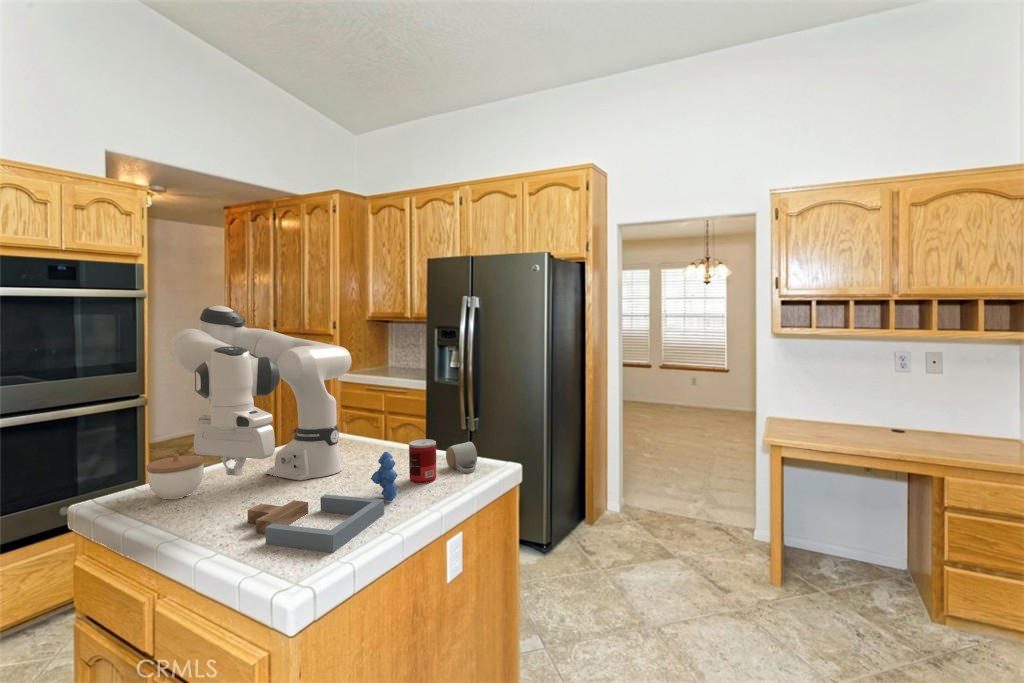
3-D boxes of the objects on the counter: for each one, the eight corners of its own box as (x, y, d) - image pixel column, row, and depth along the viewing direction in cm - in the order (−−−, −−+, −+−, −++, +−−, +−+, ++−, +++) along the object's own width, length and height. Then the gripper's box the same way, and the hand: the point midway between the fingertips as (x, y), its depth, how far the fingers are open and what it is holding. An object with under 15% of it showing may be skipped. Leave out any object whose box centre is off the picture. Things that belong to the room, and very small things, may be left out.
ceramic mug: (444, 466, 154) (444, 442, 154) (467, 462, 159) (467, 439, 158) (458, 475, 145) (458, 450, 145) (482, 471, 149) (482, 446, 149)
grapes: (366, 494, 129) (366, 449, 129) (392, 490, 132) (391, 446, 132) (375, 509, 119) (374, 460, 119) (402, 504, 122) (402, 457, 122)
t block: (233, 530, 107) (233, 516, 107) (273, 509, 119) (272, 497, 119) (271, 535, 105) (271, 521, 105) (308, 514, 116) (308, 501, 116)
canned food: (439, 475, 145) (438, 439, 145) (432, 484, 137) (431, 445, 137) (414, 475, 146) (413, 438, 145) (406, 483, 138) (405, 445, 137)
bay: (265, 544, 100) (265, 527, 100) (325, 508, 120) (325, 494, 120) (333, 552, 96) (333, 535, 96) (384, 514, 116) (384, 499, 116)
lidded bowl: (182, 504, 123) (180, 461, 123) (135, 503, 124) (133, 460, 124) (215, 487, 136) (214, 448, 136) (172, 487, 137) (171, 448, 136)
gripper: (185, 416, 113) (187, 475, 114) (258, 420, 108) (260, 482, 108) (208, 412, 119) (210, 467, 120) (278, 415, 114) (280, 473, 114)
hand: (234, 474), depth 114 cm, fingers closed
